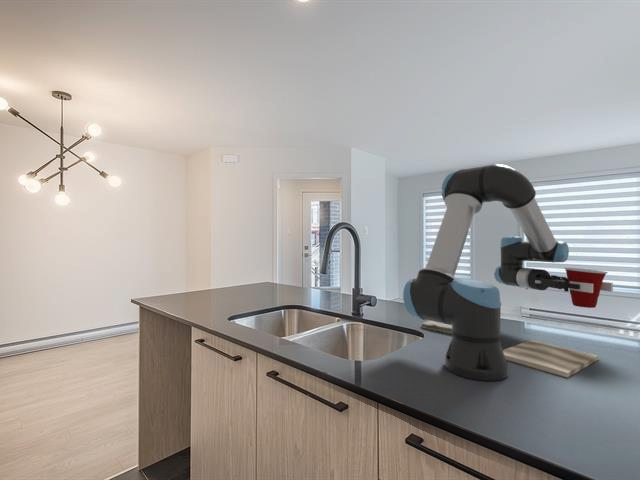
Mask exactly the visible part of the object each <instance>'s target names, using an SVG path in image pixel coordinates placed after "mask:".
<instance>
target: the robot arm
mask: <svg viewBox="0 0 640 480" xmlns="http://www.w3.org/2000/svg"><path fill="white" fill-rule="evenodd" d="M441 190H442V191H441V197H442V200H443V201H444V204H445V206H446V209H445V213H444V215H443V217H442V221H441V223H440V227H439V230H438V231H437V235H436V237H435V240H434V244H433V246H432V249H431V252H430V254H429V258H428V261H427V264H426V266H425V267H424V268H420V269H419V271H418V273H417V276H416V278H411V279H409V280H408V281H407V282H406V283H405V285H404V287H403V292H402V297H403V298H402V299H403V303H404V304H403V305H404V307H405V310H406V311H407V312H408V314H409V315H410V316H412V317H415V318H418V319H421V320H423V321H434V322H439V323H444V324H448V325H452V335H451V339H450V342H449V345H448V348H447V351H446V353H445V358H444V363H445V365H444V366H445V368H446V369H447V370H448V371H449V372H451V373H452V374H455V375H457V376H460V377H464V378H466V379H471V380H476V381H477V380H478V381H483V382H484V381H485V382H486V381H488V382H489V381H491V382H493V381H494V382H495V381H502V380H504V379H507V378H508V376H509V365H508V361H507V360H506V359H505V356H504V353H503V350H504V349H503V347H502V345H501V306H502V302H501V293H500V289H499V288H498V287H496V286H495V285H494V284H491V283H488V282H485V281H481V280H477V279H476V280H475V279H467V278H455V275H456V272H457V269H458V266H459V265H458V264H459V262H460V258H461V257H462V253H463V250H464V247H465V244H466V241H467V238H468V234H469V230H470V228H471V225H472V223H473V218H474V215H475V214H478V213H480V211H481V210H482V207H483V204H484V203H487V202H488V203H489V202H500V203H502V205H503V206H504V207H505V208H507V209H509V210H510V211H511V213H512V215H513V217H514V218H515V220H516V222H517V223H518V225H519V226H520V227H519V228H521V230H522V232H523V233H524V236H525V237H526V239H527V241H526V240H525V241H524V240H523V237H522V236H503V237H502V238H501V239H500V248H499V249H500V265H498V266H497V267H496V268H495V271H494V274H493V275H494V279H495V281H496V282H497V283H499V284H502V285H506V286H512V287H519V288H525V290H529V289H532V290H538V291H546V290H547V289H548V288H552V289H557V290H563V291H564V292H567V293H569V291H570V290H575V291H582V292H589V293H593V284H590V283H581V282H572V281H570V283H569V282H568V278H567V276H559V275H555V274H554V275H553V274H550V272H549V271H547V270H546V269H541V268H534V267H533V268H531V267H523V265H524V263H523V262H540V263H553V264H554V263H564V262H567V260H568V258H569V251H570V250H569V249H570V247H569V245H568V243H567V242H565V241H561V240H558V241H557V240H556V238H555V236H554V235H553V233H552V232H553V231H552V230H551V228H550V227H549V224H548V221H547V219H546V218H545V216H544V214H543V212H542V210H541V209H540V206H539V204H538V201H537V200H536V198H535V197H536V195H537V194H536V192H537V191H536V190H535V188H534V185H533V184H532V182H531V181H530V180H529V179H528V178H527V176H525V175H524V174H523V173H522V172H520V171H518V170H517V169H515V168H513V167H510V166H508V165H505V164H499V163H493V164H489V165H483V166H478V167H471V168H466V169H465V168H464V169H463V168H462V169H459V170H456V171H451V172H450V173H449V174H447V175H446V176H445V178H444V179H443V182H442V185H441ZM569 288H570V289H569ZM613 290H614V283H613V282H609V281H602V285H601V289H600V291H604V292H610V293H611V292H613V293H614V291H613Z"/></svg>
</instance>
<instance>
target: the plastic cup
mask: <svg viewBox="0 0 640 480" xmlns="http://www.w3.org/2000/svg"><path fill="white" fill-rule="evenodd" d="M564 269H565V272H566V277H567V278H568V282H569V283H570V281H572V282H581V283H590V284H593V293H589V292H582V291H575V290H570V288H568V290H569V294H570V298H571V303H572V305H573V306H575V307H579V308H586V309H594V308H596V307H597V305H598V299H599V296H600V292H601V290H600V289H601V285H602V282H604V278H605V276H606V275H607V274H608V271H603V270H595V269H585V268H577V267H564Z"/></svg>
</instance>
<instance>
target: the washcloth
mask: <svg viewBox="0 0 640 480" xmlns="http://www.w3.org/2000/svg"><path fill="white" fill-rule="evenodd" d="M420 327H421V328H423V329H425V328H426V329H425V330H429V329H430V331H432V332H437V331H440V332H439V333H442V332H443V334H446V333H447V335H451V334H452V325H448V324H444V323H439V322H434V321H430V320H426V321H424V322H422V323H421V325H420Z"/></svg>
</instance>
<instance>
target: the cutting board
mask: <svg viewBox="0 0 640 480" xmlns="http://www.w3.org/2000/svg"><path fill="white" fill-rule="evenodd" d="M502 350H503V353H504V356H505V359H506V361H507V362H508V361H509V362H513V363H516V364H519V365H523V366H525V367H526V366H527V367H528V368H529V367H530V368H533V369H537V370H539V371H540V370H541V371H542V372H543V371H544V372H547V373H550V374H553V375H554V374H555V375H557V376H560V377H564V378H569V377H570V378H571V376H573V375H574V374H576V373H578V372H580V371H582V370H583V369H585V368H587V367H588V366H590V365H592V364H593V363H595V362H597V361H598V360H599V359H600V358H599V354H594V353H589V352H584V351H580V350H576V349H572V348H568V347H564V346H563V347H562V346H557V345H554V344H550V343H545V342H541V341H536V340H534V339H533V340H532V339H530V340H526V341H524V342H521V343H519V344H516V345H513V346H510V347H508V348H505V349H502Z"/></svg>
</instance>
